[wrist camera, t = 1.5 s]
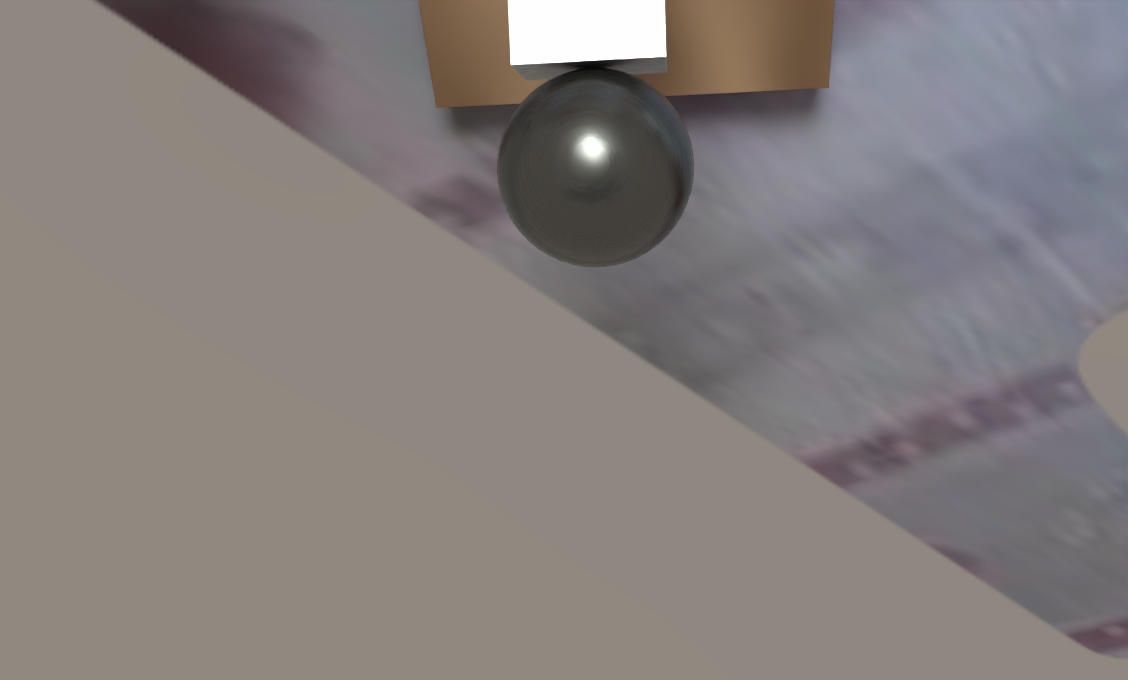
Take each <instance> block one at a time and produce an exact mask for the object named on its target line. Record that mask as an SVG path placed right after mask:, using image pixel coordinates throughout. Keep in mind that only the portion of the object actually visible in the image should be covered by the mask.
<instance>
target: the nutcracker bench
mask: <svg viewBox="0 0 1128 680" xmlns="http://www.w3.org/2000/svg"><path fill="white" fill-rule="evenodd" d="M419 6H420V12H421V18H422V24H423V30H424V36H425V42H426V48H427V54H428V60H429V66H430V72H431V78H432V84H433V90H434V96H435V102H436V108H444V107H463V106H483V105H502V104H521V102H522V101H523V100H524V99H525V98H526V97H527V96H528V95H529V94H530V93H531V92H532V91H534V90H535V89H536V88H538V87H539V86H540V85H542V84H543V83H545V82H547V81H548V80H550V79H540V80H525V79H524V78H523V77H522V76H521V75H520V74H519V73H518V72H517V71H516V70H515V69H514V68H513V67H512V66H511V58H510V33H509V8H508V0H419ZM665 13H666V51H667V73H652V74H633V75H634V76H636V77H638V78H641V79H642V80H644V81H646V82H647V83H649V84H651V85H652V86H653V87H655V88H656V89H657V90H658V91H659V92H661V93H662V94H663V95H664V96H678V95H697V94H717V93H736V92H755V91H775V90H794V89H814V88H829V75H830V59H831V44H832V28H833V13H834V0H665Z"/></svg>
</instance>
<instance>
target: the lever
mask: <svg viewBox="0 0 1128 680" xmlns="http://www.w3.org/2000/svg"><path fill="white" fill-rule="evenodd" d="M508 8H509V33H510V58H511V66H512V67H513V68H514V69H515V70H516V71H517V72H518V73H519V74H520V75H521V76H522V77H523V78H524V79H525V80H540V79H550V80H548V81H547V82H545V83H543V84H542V85H540V86H539V87H538V88H536V89H535V90H534V91H532V92H531V93H530V94H529V95H528V96H527V97H526V98H525V99H524V100H523V101H522V102H521V104H520V105H519V106H518V108H517V109H516V110H515V111H514V113H513V115H512V117H511V118H510V120H509V122H508V124H507V126H506V128H505V131H504V133H503V136H502V139H501V143H500V146H499V153H498V159H497V175H498V185H499V189H500V193H501V198H502V200H503V203H504V206H505V208H506V210H507V212H508V214H509V216H510V218H511V220H512V221H513V223H514V224H515V226H516V227H517V228H518V230H519V231H520V232H521V233H522V234H523V236H524V237H525V238H526V239H527V240H528V241H529V242H531V243H532V244H533V245H534V246H535V247H537V248H538V249H539V250H541V251H543V252H544V253H546V254H547V255H549V256H551V257H554V258H556V259H558V260H560V261H563V262H566V263H569V264H573V265H578V266H584V267H605V266H613V265H617V264H621V263H625V262H628V261H630V260H633V259H635V258H637V257H639V256H641V255H643V254H645V253H647V252H648V251H650V250H651V249H652V248H654V247H655V246H656V245H658V244H659V243H660V242H661V241H662V240H663V239H664V238H665V237H666V236H667V235H668V234H669V233H670V232H671V230H672V229H673V228H674V227H675V225H676V224H677V222H678V220H679V219H680V217H681V216H682V214H683V212H684V209H685V207H686V205H687V203H688V200H689V196H690V193H691V189H692V184H693V178H694V159H693V150H692V145H691V141H690V137H689V135H688V132H687V129H686V127H685V125H684V123H683V121H682V119H681V117H680V115H679V114H678V112H677V111H676V109H675V108H674V107H673V105H672V104H671V103H670V102H669V100H668V99H667V98H666V97H665V96H664V95H663V94H662V93H661V92H659V91H658V90H657V89H656V88H655V87H653V86H652V85H651V84H649V83H647V82H646V81H644V80H642V79H641V78H638V77H636V76H634V75H633V74H652V73H667V51H666V13H665V0H508Z"/></svg>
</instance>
